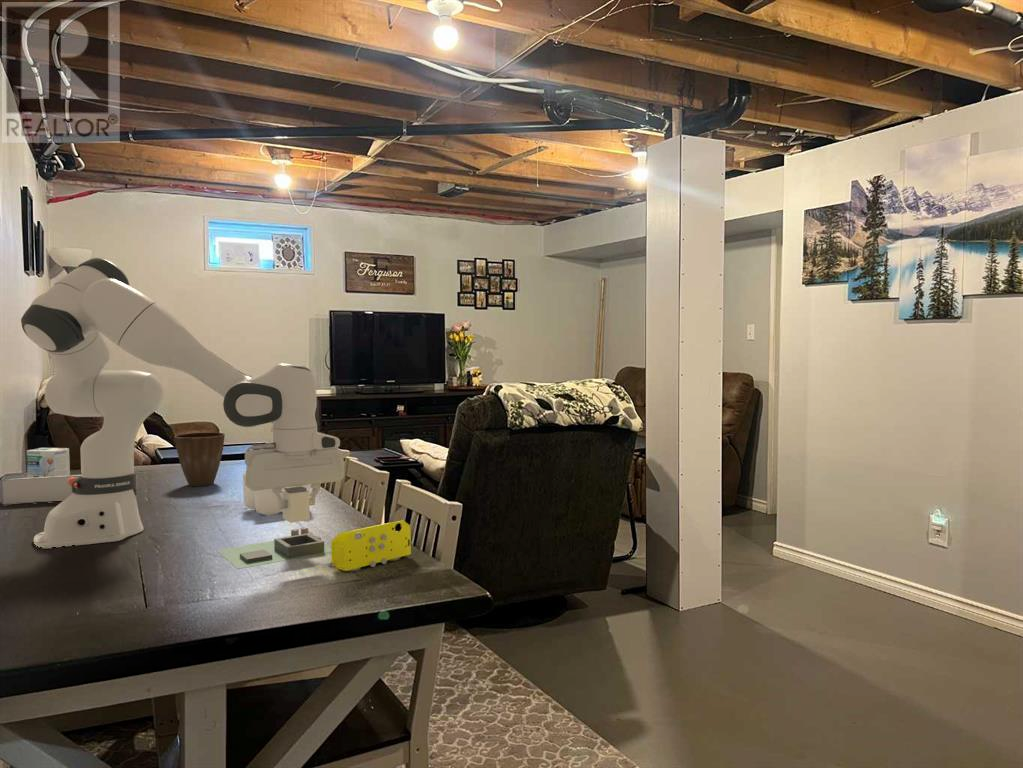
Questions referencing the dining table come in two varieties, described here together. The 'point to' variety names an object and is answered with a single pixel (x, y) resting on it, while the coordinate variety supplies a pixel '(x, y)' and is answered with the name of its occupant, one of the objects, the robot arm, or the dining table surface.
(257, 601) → the dining table surface
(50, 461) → the light bulb box
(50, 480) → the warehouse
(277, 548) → the board
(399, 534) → the yellow toy chassis
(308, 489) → the cable organizer
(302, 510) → the plug
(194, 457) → the plant pot
